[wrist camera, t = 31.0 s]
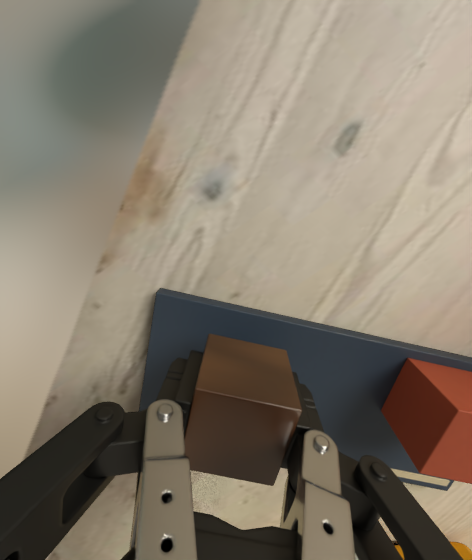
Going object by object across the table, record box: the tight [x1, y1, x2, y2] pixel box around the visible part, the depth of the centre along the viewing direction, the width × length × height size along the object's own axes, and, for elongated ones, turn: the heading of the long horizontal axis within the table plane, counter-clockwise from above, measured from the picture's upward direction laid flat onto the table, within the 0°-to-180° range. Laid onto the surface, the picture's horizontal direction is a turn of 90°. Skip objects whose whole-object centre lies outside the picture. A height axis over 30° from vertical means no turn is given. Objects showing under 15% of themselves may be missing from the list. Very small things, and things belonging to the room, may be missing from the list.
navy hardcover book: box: [139, 288, 472, 491], centre depth 17 cm, size 22×10×1 cm, turn 77°
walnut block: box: [184, 334, 302, 486], centre depth 12 cm, size 4×4×4 cm
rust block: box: [381, 358, 472, 484], centre depth 15 cm, size 4×4×4 cm
